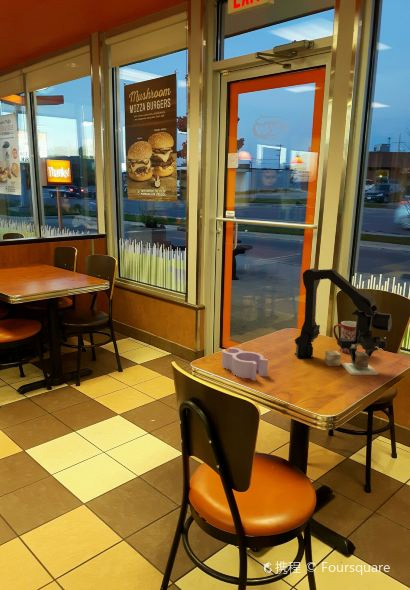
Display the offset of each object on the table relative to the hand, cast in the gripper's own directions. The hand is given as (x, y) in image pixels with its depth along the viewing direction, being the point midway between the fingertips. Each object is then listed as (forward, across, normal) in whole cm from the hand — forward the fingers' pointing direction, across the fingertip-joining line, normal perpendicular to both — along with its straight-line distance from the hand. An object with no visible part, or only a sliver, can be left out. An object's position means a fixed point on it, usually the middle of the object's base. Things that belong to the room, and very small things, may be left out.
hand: (359, 362), depth 186 cm
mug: (+3, +3, +24) cm, 24 cm away
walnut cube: (+1, 0, 0) cm, 1 cm away
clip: (+4, -49, -1) cm, 49 cm away
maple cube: (+3, -9, +7) cm, 12 cm away
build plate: (+3, 0, 0) cm, 3 cm away
